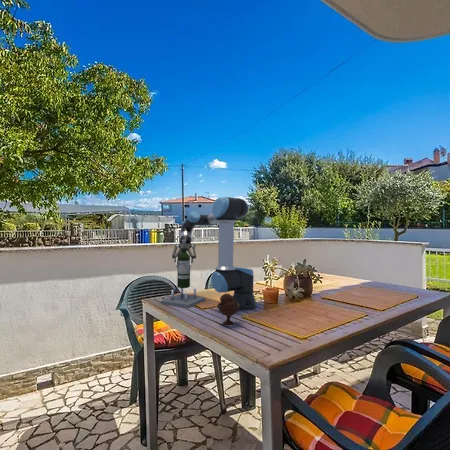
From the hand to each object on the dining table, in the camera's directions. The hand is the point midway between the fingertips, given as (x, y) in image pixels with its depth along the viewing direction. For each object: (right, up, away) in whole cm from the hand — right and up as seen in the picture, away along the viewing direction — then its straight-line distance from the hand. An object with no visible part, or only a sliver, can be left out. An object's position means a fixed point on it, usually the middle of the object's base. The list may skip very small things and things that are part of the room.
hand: (183, 266), depth 180 cm
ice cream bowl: (+28, -23, -38) cm, 52 cm away
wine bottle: (0, -14, +4) cm, 14 cm away
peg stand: (0, -23, +3) cm, 23 cm away
